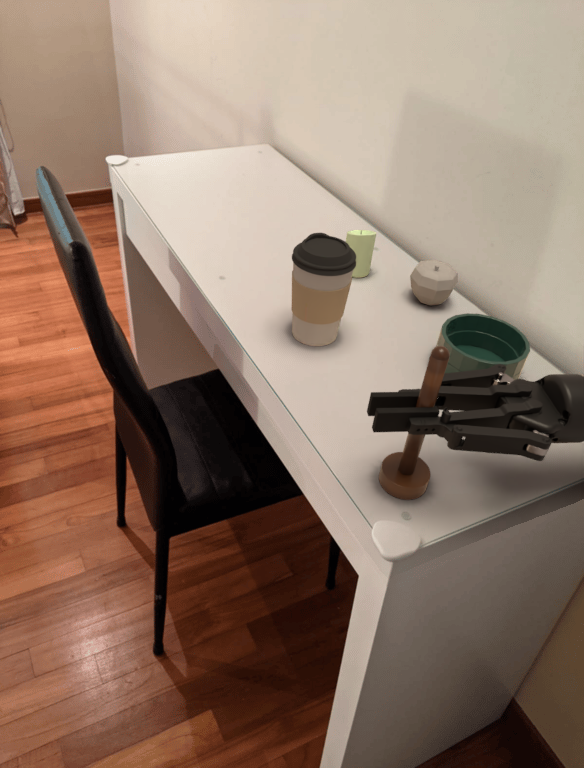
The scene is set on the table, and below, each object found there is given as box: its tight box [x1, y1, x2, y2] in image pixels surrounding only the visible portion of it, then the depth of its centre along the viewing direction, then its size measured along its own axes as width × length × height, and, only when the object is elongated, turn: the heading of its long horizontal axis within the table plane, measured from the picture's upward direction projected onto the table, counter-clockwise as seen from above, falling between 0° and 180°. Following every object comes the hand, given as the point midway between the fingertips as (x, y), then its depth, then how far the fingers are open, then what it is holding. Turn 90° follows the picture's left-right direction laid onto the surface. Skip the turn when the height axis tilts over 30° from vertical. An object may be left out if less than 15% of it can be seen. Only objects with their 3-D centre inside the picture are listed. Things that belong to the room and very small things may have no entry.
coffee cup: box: [291, 232, 356, 347], centre depth 88 cm, size 9×9×15 cm
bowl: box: [435, 312, 531, 380], centre depth 87 cm, size 12×12×6 cm
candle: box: [345, 229, 377, 279], centre depth 107 cm, size 5×5×8 cm
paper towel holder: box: [378, 346, 450, 501], centre depth 65 cm, size 6×6×19 cm
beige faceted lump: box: [409, 259, 459, 306], centre depth 102 cm, size 8×8×7 cm
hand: (372, 412), depth 63 cm, fingers closed on paper towel holder, 2 cm apart
